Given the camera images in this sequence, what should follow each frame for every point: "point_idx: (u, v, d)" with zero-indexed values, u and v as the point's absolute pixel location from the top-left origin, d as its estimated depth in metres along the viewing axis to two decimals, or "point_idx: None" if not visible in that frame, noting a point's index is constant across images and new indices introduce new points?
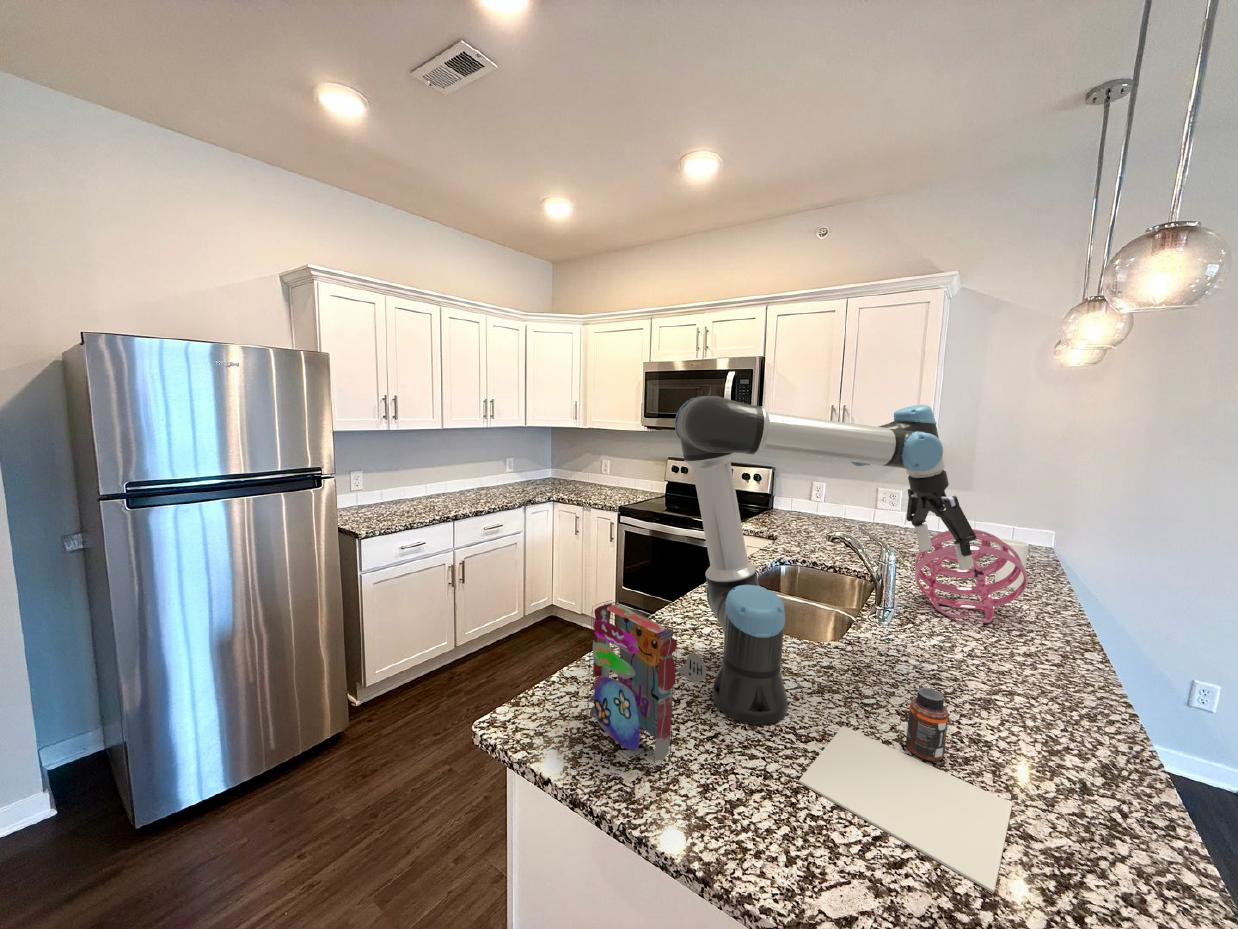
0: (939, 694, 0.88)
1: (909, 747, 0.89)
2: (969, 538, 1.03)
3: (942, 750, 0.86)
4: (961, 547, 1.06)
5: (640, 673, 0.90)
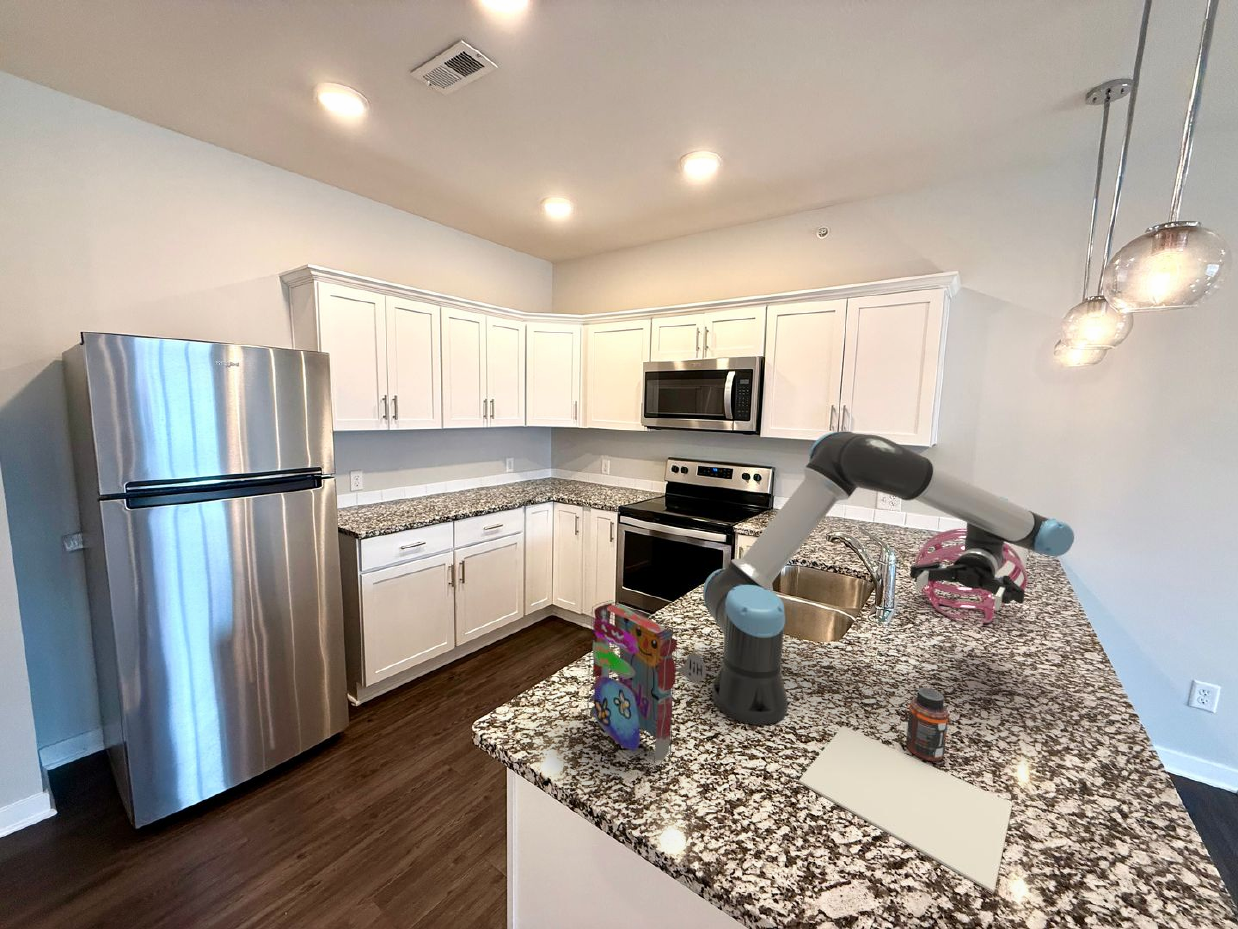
0: (939, 694, 0.88)
1: (909, 747, 0.89)
2: None
3: (942, 750, 0.86)
4: (1005, 593, 0.95)
5: (640, 673, 0.90)
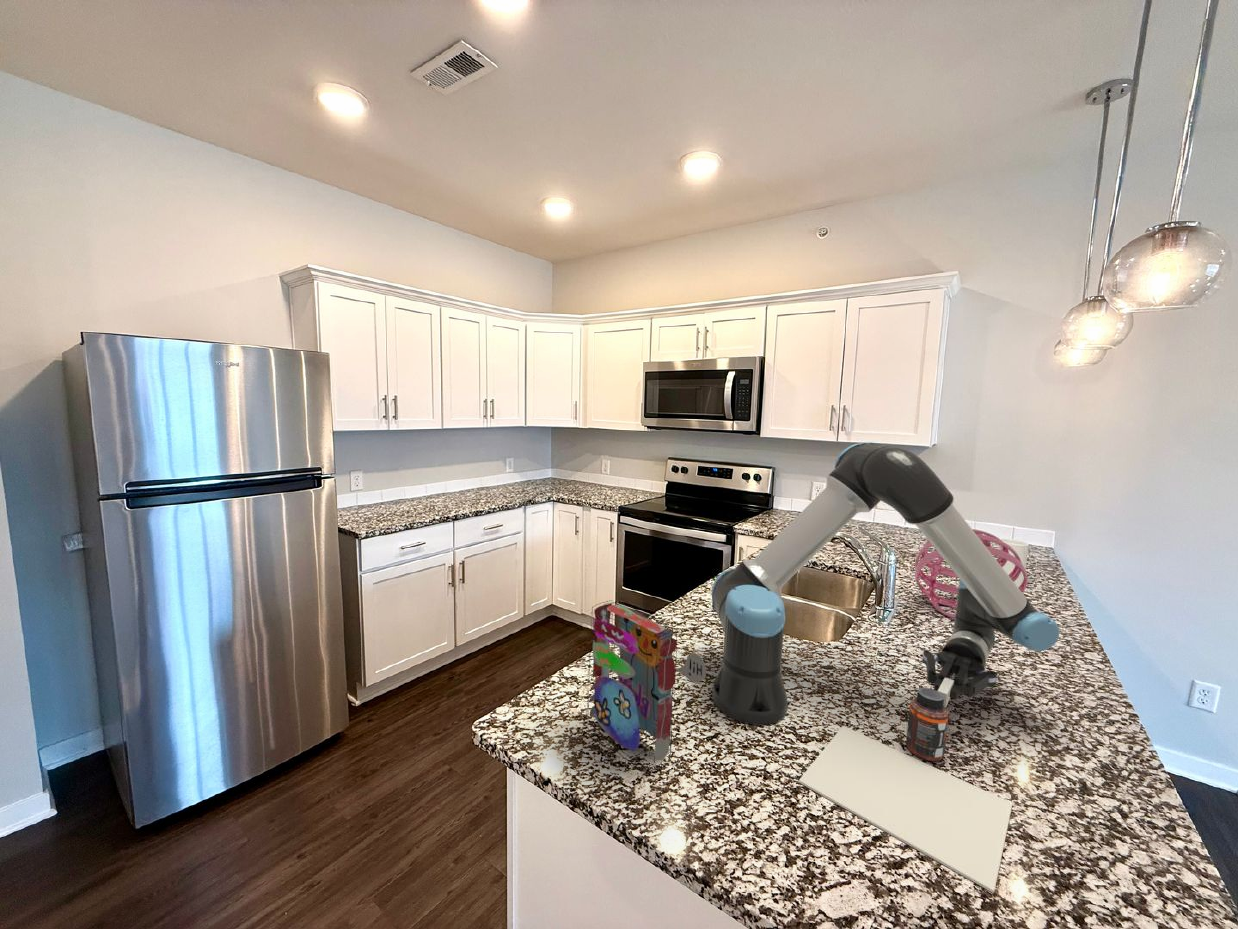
0: (939, 694, 0.88)
1: (909, 747, 0.89)
2: (972, 689, 0.92)
3: (942, 750, 0.86)
4: (954, 686, 0.93)
5: (640, 673, 0.90)
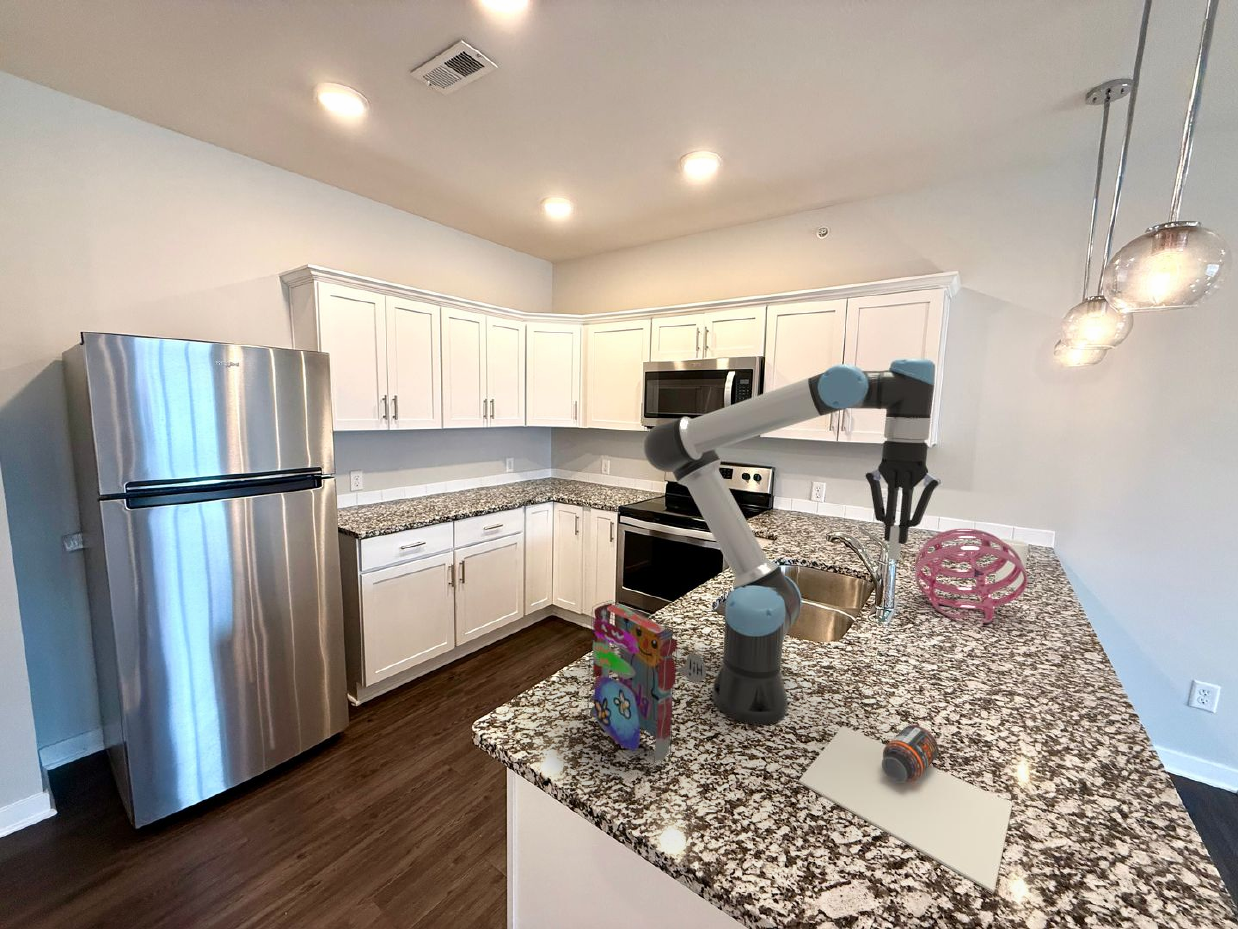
0: (902, 769, 0.79)
1: None
2: (918, 524, 0.94)
3: (933, 760, 0.83)
4: (901, 533, 0.96)
5: (640, 673, 0.90)
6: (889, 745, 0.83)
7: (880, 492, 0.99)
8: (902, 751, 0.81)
